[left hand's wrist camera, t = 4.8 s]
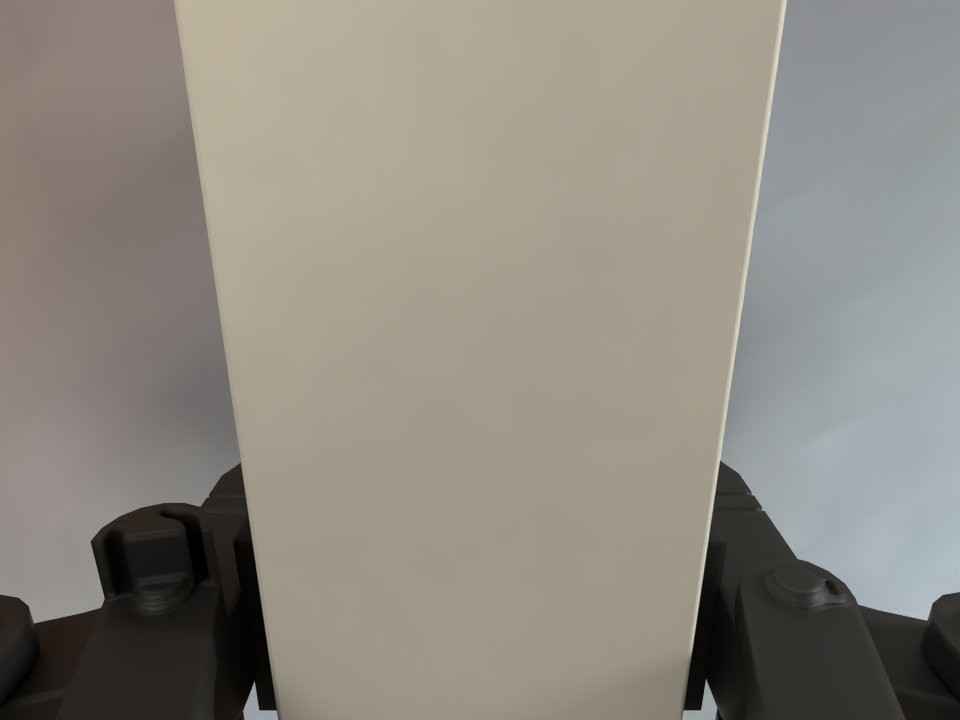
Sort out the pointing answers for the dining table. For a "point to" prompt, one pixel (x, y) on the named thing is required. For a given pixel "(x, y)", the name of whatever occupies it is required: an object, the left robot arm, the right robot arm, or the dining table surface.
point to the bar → (480, 335)
